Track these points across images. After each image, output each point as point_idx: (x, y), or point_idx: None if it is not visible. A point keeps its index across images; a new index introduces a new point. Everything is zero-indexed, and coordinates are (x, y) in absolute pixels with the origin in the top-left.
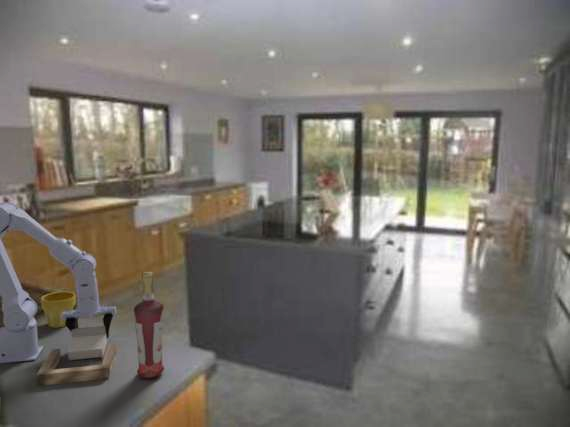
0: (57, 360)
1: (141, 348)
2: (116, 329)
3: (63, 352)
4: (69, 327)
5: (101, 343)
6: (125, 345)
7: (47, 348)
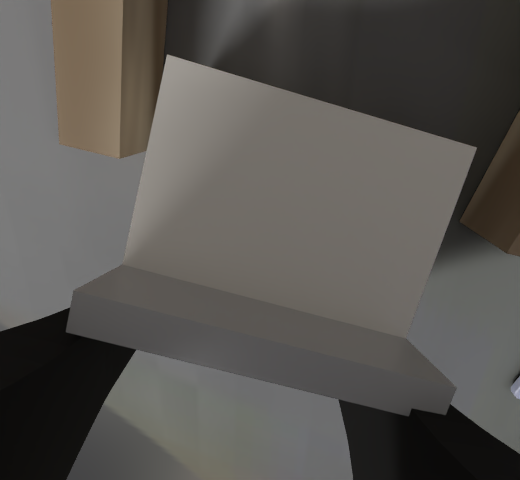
0: (517, 150)
1: None
2: (143, 417)
3: (422, 295)
4: (491, 444)
5: (164, 142)
6: (72, 231)
7: (488, 374)
